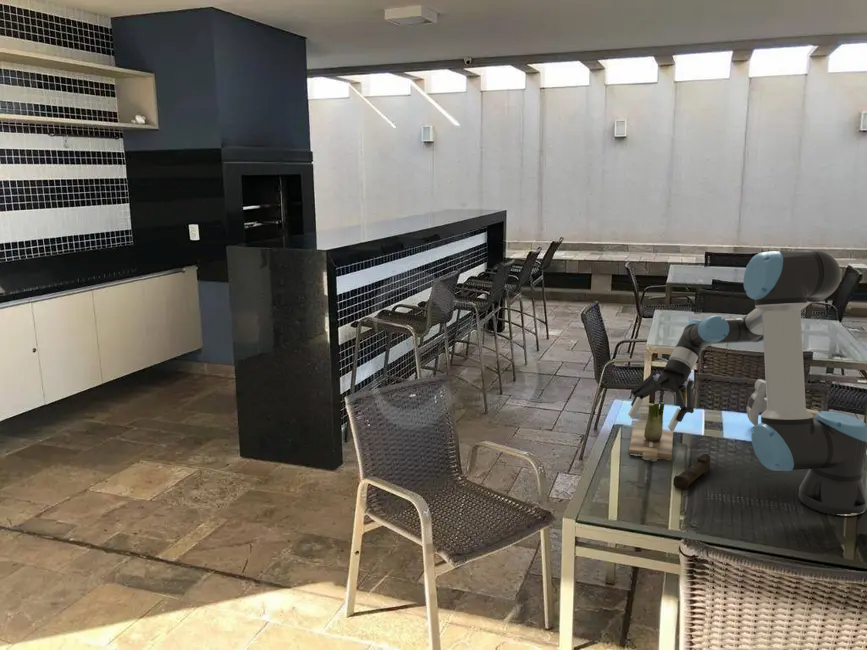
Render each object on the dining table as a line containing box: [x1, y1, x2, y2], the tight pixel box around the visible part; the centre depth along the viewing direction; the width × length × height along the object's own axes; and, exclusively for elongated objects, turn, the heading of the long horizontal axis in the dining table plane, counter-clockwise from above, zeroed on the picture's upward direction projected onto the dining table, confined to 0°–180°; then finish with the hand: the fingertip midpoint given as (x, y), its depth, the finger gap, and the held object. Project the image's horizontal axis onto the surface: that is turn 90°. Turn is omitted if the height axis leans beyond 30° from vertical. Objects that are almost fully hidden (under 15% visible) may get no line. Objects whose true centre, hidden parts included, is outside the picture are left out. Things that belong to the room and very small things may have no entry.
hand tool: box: [672, 453, 711, 491], centre depth 193 cm, size 19×4×5 cm, turn 134°
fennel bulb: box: [644, 402, 666, 441], centre depth 212 cm, size 6×5×12 cm
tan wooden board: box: [628, 426, 674, 462], centre depth 213 cm, size 22×12×3 cm, turn 161°
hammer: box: [746, 378, 820, 427], centre depth 224 cm, size 16×5×30 cm
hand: (650, 423), depth 211 cm, fingers open, 13 cm apart
